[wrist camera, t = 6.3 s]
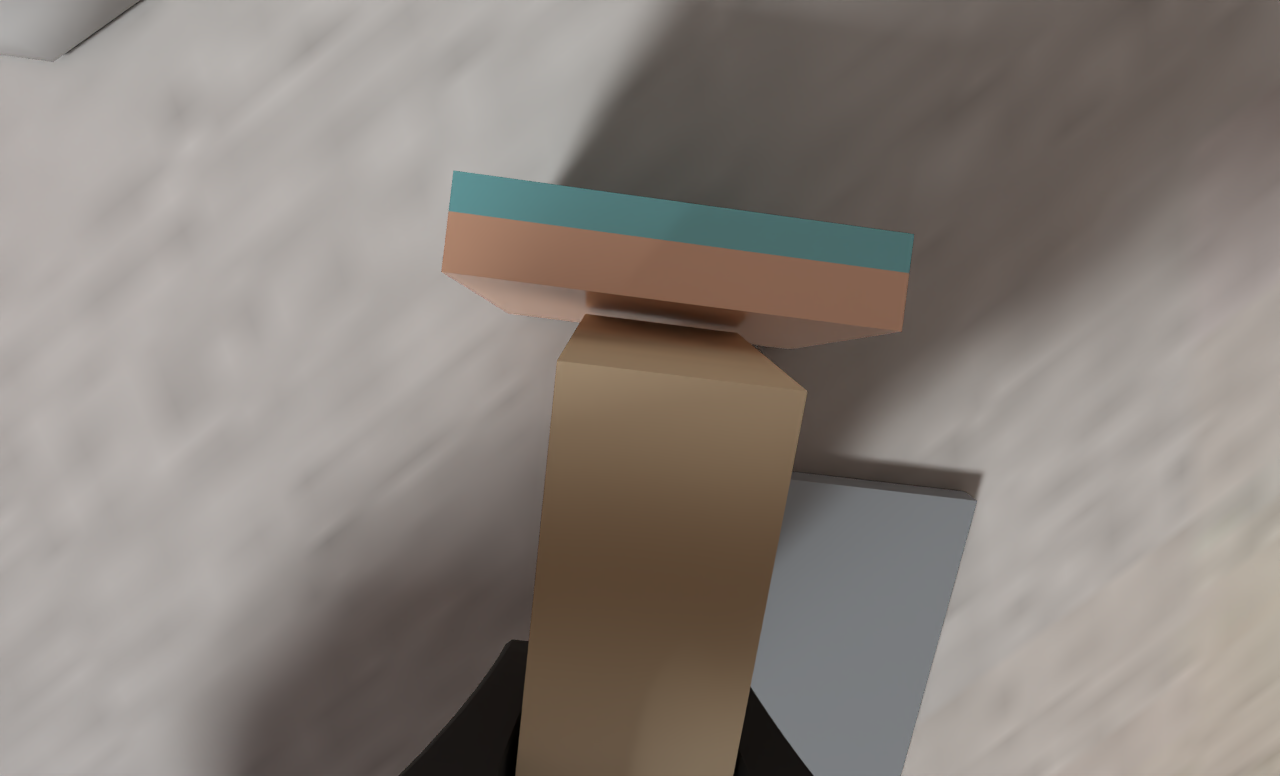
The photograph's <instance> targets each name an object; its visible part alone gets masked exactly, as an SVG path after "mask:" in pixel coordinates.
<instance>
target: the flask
mask: <svg viewBox="0 0 1280 776" xmlns="http://www.w3.org/2000/svg"><path fill="white" fill-rule="evenodd" d="M138 1H140V0H0V55H5V56H13V57H21V58H28V59H36V60H43V61H51V62H54V61H55V60H57V59H58V58H59V57H61V56H62V55H64V54H65V53H67V52H68V51H69V50H71V49H72V48H74V47H75V46H76V45H78V44H79V43H81V42H82V41H83V40H85V39H86V38H88V37H89V36H90V35H92V34H93V33H95V32H96V31H97V30H99V29H100V28H102V27H103V26H105V25H106V24H107V23H109V22H110V21H112V20H113V19H114V18H116V17H117V16H119V15H120V14H121V13H123V12H124V11H126V10H127V9H128V8H130V7H131V6H133V5H134V4H135V3H137V2H138Z"/></svg>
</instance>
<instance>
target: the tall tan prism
mask: <svg viewBox="0 0 1280 776" xmlns="http://www.w3.org/2000/svg"><path fill="white" fill-rule="evenodd" d="M807 392H808V391H807V390H805V389H804V388H803V387H802V386H801V385H799V384H798V383H797V382H796V381H794V380H793V379H792V378H791V377H790V376H788V375H787V374H786V373H785V372H784V371H782V370H781V369H780V368H779V367H778V366H776V365H775V364H774V363H773V362H772V361H770V360H769V359H768V358H767V357H766V356H764V355H763V354H762V353H761V352H760V351H758V350H757V349H756V348H755V347H754V346H752V345H751V344H750V343H749V342H748V341H746V340H745V339H744V338H743V337H742V336H740V335H739V334H738V333H735V332H727V331H719V330H711V329H703V328H696V327H688V326H680V325H672V324H664V323H656V322H648V321H640V320H632V319H624V318H616V317H608V316H601V315H593V314H585V315H584V317H583V319H582V320H581V322H580V324H579V325H578V327H577V328H576V330H575V332H574V333H573V335H572V337H571V338H570V340H569V342H568V343H567V345H566V347H565V348H564V350H563V352H562V353H561V355H560V357H559V358H558V360H557V366H556V376H555V386H554V396H553V406H552V416H551V426H550V436H549V445H548V455H547V465H546V475H545V485H544V495H543V505H542V515H541V525H540V535H539V545H538V555H537V565H536V575H535V585H534V595H533V605H532V614H531V624H530V634H529V644H528V654H527V664H526V674H525V684H524V694H523V704H522V714H521V724H520V734H519V744H518V754H517V764H516V774H515V776H733V774H734V769H735V764H736V759H737V753H738V748H739V743H740V738H741V733H742V728H743V722H744V717H745V712H746V707H747V702H748V697H749V691H750V686H751V681H752V676H753V671H754V666H755V661H756V655H757V650H758V645H759V640H760V635H761V630H762V624H763V619H764V614H765V609H766V604H767V599H768V593H769V588H770V583H771V578H772V573H773V568H774V562H775V557H776V552H777V547H778V542H779V537H780V531H781V526H782V521H783V516H784V511H785V506H786V500H787V495H788V490H789V485H790V480H791V475H792V469H793V464H794V459H795V454H796V449H797V444H798V438H799V433H800V428H801V423H802V418H803V413H804V407H805V402H806V397H807Z"/></svg>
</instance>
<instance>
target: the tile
mask: <svg viewBox="0 0 1280 776" xmlns="http://www.w3.org/2000/svg"><path fill="white" fill-rule="evenodd" d="M913 240H914V234H910V233H903V232H895V231H888V230H881V229H873V228H866V227H859V226H852V225H844V224H837V223H830V222H823V221H815V220H808V219H801V218H794V217H786V216H779V215H772V214H765V213H757V212H750V211H743V210H736V209H728V208H721V207H714V206H707V205H699V204H692V203H685V202H678V201H670V200H663V199H656V198H648V197H641V196H634V195H627V194H619V193H612V192H605V191H598V190H590V189H583V188H576V187H569V186H561V185H554V184H547V183H540V182H532V181H525V180H518V179H511V178H503V177H496V176H489V175H482V174H474V173H467V172H460V171H453V180H452V188H451V196H450V205H449V213H448V221H447V230H446V238H445V246H444V255H443V263H442V271H441V272H443V273H444V274H446V275H447V276H449V277H451V278H452V279H454V280H455V281H457V282H459V283H460V284H462V285H463V286H465V287H467V288H468V289H470V290H471V291H473V292H475V293H476V294H478V295H479V296H481V297H483V298H484V299H486V300H487V301H489V302H491V303H492V304H494V305H495V306H497V307H499V308H500V309H502V310H503V311H505V312H507V313H509V314H516V315H524V316H532V317H540V318H548V319H556V320H564V321H571V322H579V323H580V322H581V320H582V319H583V317H584V315H585V314H593V315H601V316H608V317H616V318H624V319H632V320H640V321H648V322H656V323H664V324H672V325H680V326H688V327H696V328H703V329H711V330H719V331H727V332H735V333H738V334H739V335H740V336H742V337H743V338H744V339H745V340H746V341H748V342H749V343H750V344H752V345H760V346H767V347H775V348H783V349H796V348H802V347H808V346H814V345H821V344H827V343H833V342H840V341H846V340H852V339H859V338H865V337H871V336H877V335H884V334H890V333H896V332H902V326H903V318H904V311H905V303H906V295H907V287H908V279H909V271H910V264H911V256H912V248H913Z"/></svg>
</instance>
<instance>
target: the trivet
mask: <svg viewBox="0 0 1280 776" xmlns="http://www.w3.org/2000/svg"><path fill="white" fill-rule="evenodd" d="M976 504H977V500H975V499H974V498H973V497H972V496H970V495H969V494H968V493H966V492H964V491H955V490H947V489H938V488H929V487H921V486H912V485H904V484H895V483H886V482H878V481H869V480H860V479H852V478H843V477H834V476H826V475H817V474H808V473H800V472H792V475H791V480H790V485H789V490H788V495H787V500H786V506H785V511H784V516H783V521H782V526H781V531H780V537H779V542H778V547H777V552H776V557H775V562H774V568H773V573H772V578H771V583H770V588H769V593H768V599H767V604H766V609H765V614H764V619H763V624H762V630H761V635H760V640H759V645H758V650H757V655H756V661H755V666H754V671H753V676H752V681H751V688H752V689H753V691H754V692H755V694H756V696H757V697H758V699H759V700H760V702H761V703H762V705H763V706H764V708H765V709H766V711H767V712H768V714H769V715H770V717H771V718H772V719H773V721H774V722H775V724H776V725H777V727H778V728H779V730H780V731H781V732H782V734H783V735H784V736H785V738H786V739H787V741H788V742H789V743H790V745H791V746H792V748H793V749H794V750H795V752H796V753H797V754H798V756H799V757H800V758H801V760H802V761H803V762H804V764H805V765H806V766H807V768H808V769H809V770H810V771H811V773H812V774H813V775H814V776H901V773H902V769H903V766H904V762H905V759H906V755H907V751H908V748H909V744H910V741H911V737H912V733H913V730H914V726H915V723H916V719H917V715H918V712H919V708H920V705H921V701H922V698H923V694H924V690H925V687H926V683H927V680H928V676H929V672H930V669H931V665H932V662H933V658H934V654H935V651H936V647H937V644H938V640H939V636H940V633H941V629H942V626H943V622H944V618H945V615H946V611H947V608H948V604H949V601H950V597H951V593H952V590H953V586H954V583H955V579H956V575H957V572H958V568H959V565H960V561H961V557H962V554H963V550H964V547H965V543H966V539H967V536H968V532H969V529H970V525H971V521H972V518H973V514H974V511H975V507H976Z"/></svg>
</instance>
